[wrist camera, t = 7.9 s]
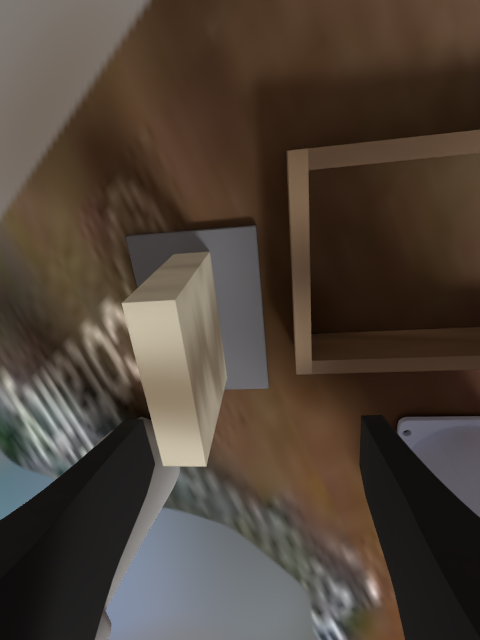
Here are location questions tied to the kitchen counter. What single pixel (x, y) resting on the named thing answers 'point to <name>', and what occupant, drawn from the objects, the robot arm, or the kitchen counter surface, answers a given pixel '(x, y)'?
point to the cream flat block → (179, 355)
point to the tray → (375, 346)
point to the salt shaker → (141, 520)
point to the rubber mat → (220, 291)
